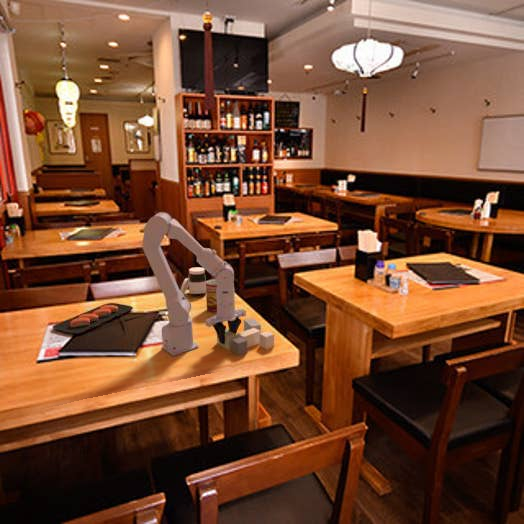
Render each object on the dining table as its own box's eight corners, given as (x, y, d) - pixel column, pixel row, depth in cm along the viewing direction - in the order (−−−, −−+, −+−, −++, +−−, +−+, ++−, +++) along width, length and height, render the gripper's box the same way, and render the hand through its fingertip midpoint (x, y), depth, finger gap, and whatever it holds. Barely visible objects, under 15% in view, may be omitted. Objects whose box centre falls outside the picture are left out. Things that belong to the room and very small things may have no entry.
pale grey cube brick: (266, 349, 133) (266, 337, 132) (259, 346, 136) (259, 333, 134) (274, 346, 135) (274, 334, 134) (267, 343, 138) (267, 330, 136)
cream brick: (243, 349, 134) (243, 336, 132) (237, 345, 136) (237, 333, 135) (260, 343, 138) (260, 330, 137) (254, 339, 140) (254, 327, 139)
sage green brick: (237, 347, 135) (237, 335, 134) (229, 350, 133) (228, 338, 132) (225, 340, 140) (225, 328, 139) (217, 343, 138) (216, 331, 137)
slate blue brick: (260, 336, 143) (260, 324, 142) (251, 338, 141) (251, 326, 140) (252, 329, 149) (252, 317, 148) (244, 330, 148) (243, 319, 146)
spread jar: (207, 296, 183) (207, 271, 180) (182, 299, 180) (180, 273, 177) (204, 288, 195) (203, 264, 192) (179, 290, 192) (178, 266, 189)
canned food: (203, 310, 167) (201, 282, 164) (216, 305, 173) (215, 277, 170) (217, 314, 162) (216, 285, 159) (230, 309, 168) (229, 280, 165)
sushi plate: (110, 306, 175) (109, 297, 174) (166, 317, 162) (166, 308, 161) (49, 332, 150) (48, 322, 149) (110, 347, 137) (109, 337, 136)
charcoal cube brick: (238, 356, 129) (238, 343, 128) (232, 352, 131) (231, 339, 130) (247, 353, 131) (247, 340, 130) (241, 349, 133) (240, 336, 132)
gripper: (213, 311, 125) (215, 352, 128) (251, 300, 134) (252, 339, 137) (201, 304, 130) (203, 344, 134) (238, 295, 139) (239, 332, 143)
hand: (227, 341), depth 136 cm, fingers closed on sage green brick, 3 cm apart
